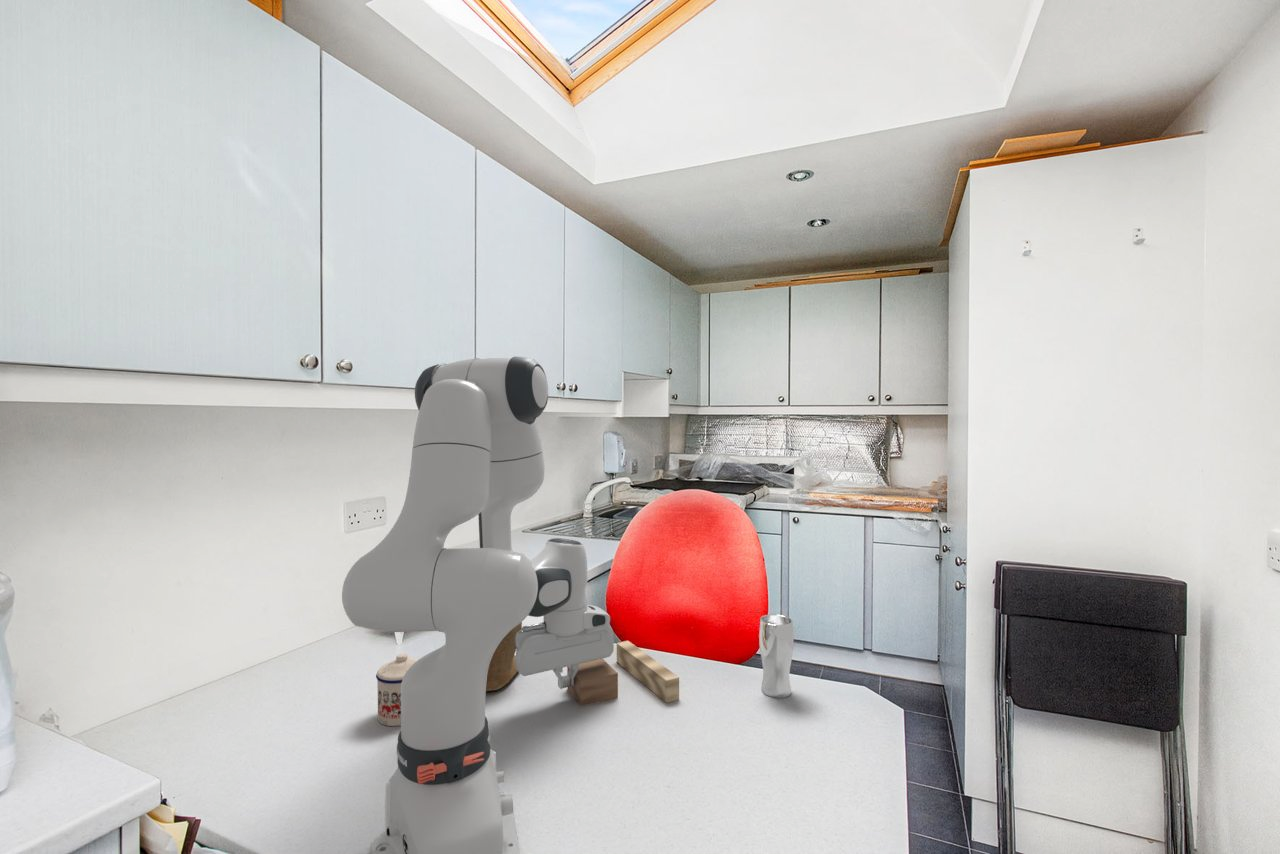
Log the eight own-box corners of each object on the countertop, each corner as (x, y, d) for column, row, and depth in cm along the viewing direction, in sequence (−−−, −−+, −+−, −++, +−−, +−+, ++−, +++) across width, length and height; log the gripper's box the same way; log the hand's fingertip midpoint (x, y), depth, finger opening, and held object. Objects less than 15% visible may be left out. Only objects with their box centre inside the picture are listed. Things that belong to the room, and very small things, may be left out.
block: (617, 697, 118) (617, 673, 118) (580, 706, 115) (580, 681, 114) (602, 681, 125) (602, 658, 125) (567, 689, 122) (567, 665, 122)
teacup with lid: (366, 725, 108) (365, 663, 107) (394, 701, 116) (393, 644, 116) (425, 731, 106) (425, 667, 105) (450, 706, 115) (449, 648, 114)
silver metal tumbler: (768, 680, 126) (768, 611, 125) (799, 690, 121) (799, 618, 121) (753, 692, 120) (753, 620, 120) (784, 702, 116) (784, 628, 115)
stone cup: (507, 698, 118) (507, 625, 117) (454, 692, 120) (454, 621, 120) (537, 667, 132) (536, 602, 132) (489, 662, 135) (488, 598, 135)
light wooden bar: (679, 699, 117) (679, 677, 117) (666, 702, 116) (666, 680, 116) (628, 659, 136) (628, 640, 136) (616, 662, 135) (616, 643, 135)
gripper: (520, 633, 109) (520, 705, 109) (617, 614, 119) (617, 681, 119) (510, 622, 115) (510, 691, 115) (603, 605, 125) (603, 669, 125)
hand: (565, 686), depth 117 cm, fingers closed
